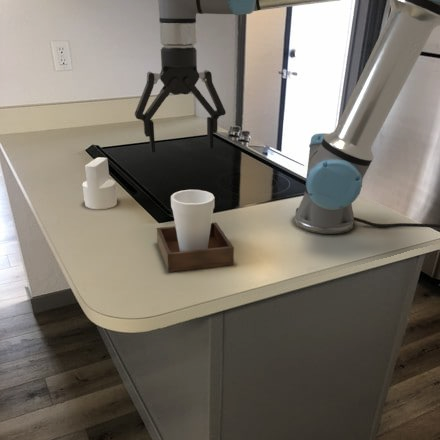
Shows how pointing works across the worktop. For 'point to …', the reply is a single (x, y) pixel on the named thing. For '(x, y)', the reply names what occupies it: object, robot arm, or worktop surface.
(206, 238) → the foam cup
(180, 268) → the caddy
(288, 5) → the robot arm
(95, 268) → the worktop surface
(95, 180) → the base with upright slab
